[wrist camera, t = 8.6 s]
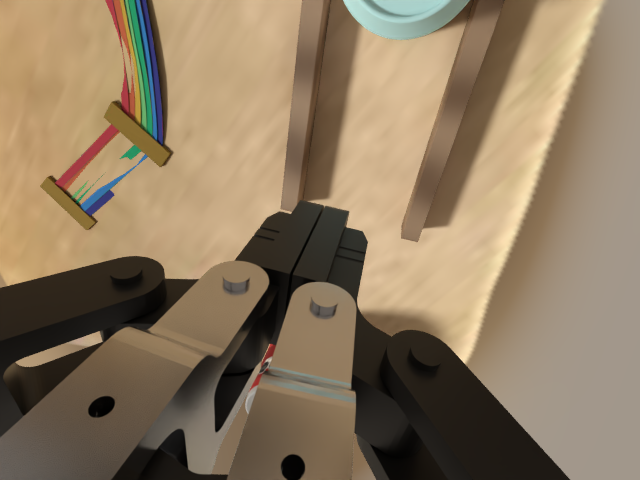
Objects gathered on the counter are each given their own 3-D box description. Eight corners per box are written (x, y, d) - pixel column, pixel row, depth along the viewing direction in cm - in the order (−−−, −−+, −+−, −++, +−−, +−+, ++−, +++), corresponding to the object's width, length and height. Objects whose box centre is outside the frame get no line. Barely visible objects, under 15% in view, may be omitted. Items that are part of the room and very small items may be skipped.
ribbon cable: (-39, -343, 22) (-135, 12, 35) (-58, -360, 21) (-149, 11, 34) (263, 73, 30) (94, 230, 43) (259, 74, 29) (87, 235, 43)
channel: (332, -186, 21) (317, -228, 18) (553, -160, 20) (582, -201, 16) (288, 198, 35) (275, 215, 31) (417, 229, 33) (418, 250, 30)
